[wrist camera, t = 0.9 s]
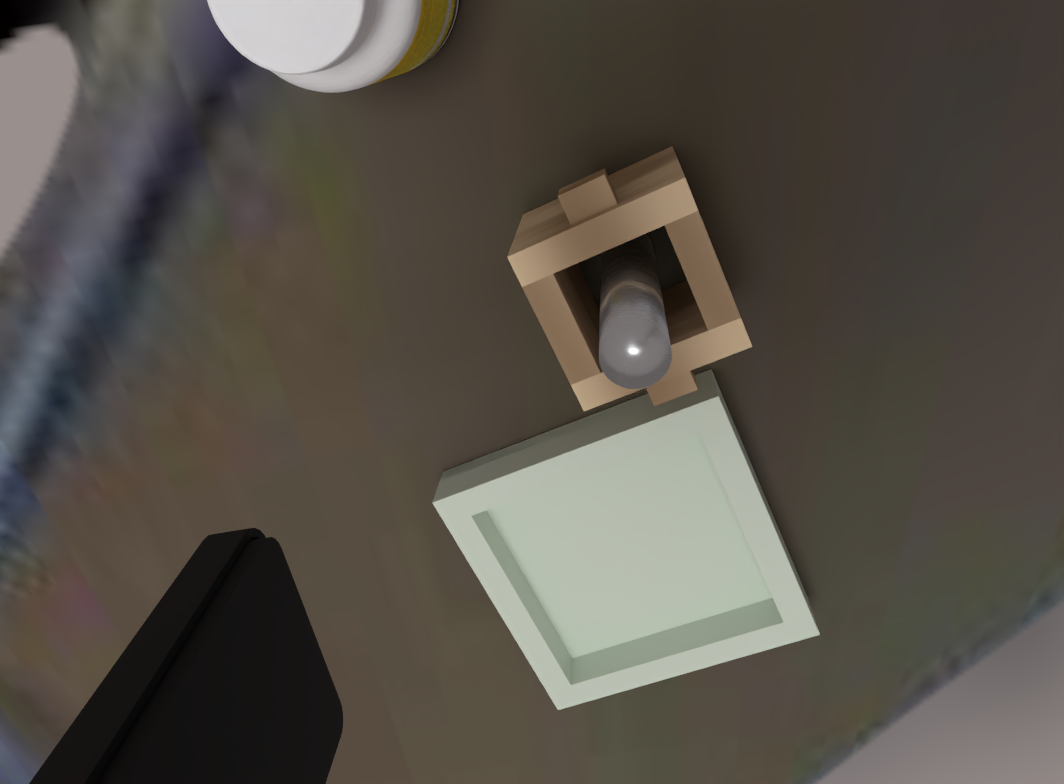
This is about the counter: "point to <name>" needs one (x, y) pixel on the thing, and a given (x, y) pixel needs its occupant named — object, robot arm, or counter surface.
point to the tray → (628, 546)
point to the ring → (601, 224)
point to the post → (632, 316)
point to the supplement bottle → (336, 37)
